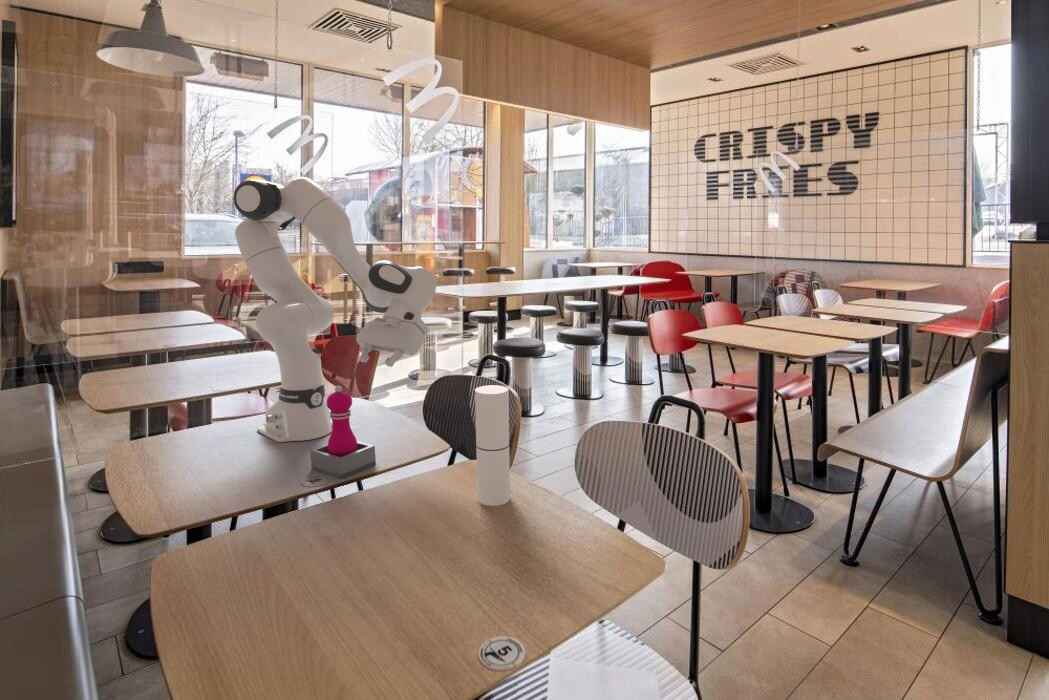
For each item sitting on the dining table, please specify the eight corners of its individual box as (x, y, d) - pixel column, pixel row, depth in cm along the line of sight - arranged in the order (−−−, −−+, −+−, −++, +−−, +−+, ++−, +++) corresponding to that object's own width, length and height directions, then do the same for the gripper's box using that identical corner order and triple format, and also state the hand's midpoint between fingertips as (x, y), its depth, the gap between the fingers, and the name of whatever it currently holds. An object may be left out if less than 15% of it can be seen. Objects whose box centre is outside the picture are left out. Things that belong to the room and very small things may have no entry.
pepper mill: (362, 458, 162) (358, 382, 158) (352, 469, 155) (347, 389, 151) (335, 457, 163) (330, 381, 159) (323, 468, 156) (317, 389, 152)
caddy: (311, 469, 158) (310, 450, 157) (346, 455, 167) (345, 437, 166) (341, 479, 152) (340, 459, 151) (375, 464, 161) (374, 445, 160)
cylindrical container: (474, 504, 138) (471, 393, 133) (481, 491, 145) (479, 384, 140) (506, 507, 137) (504, 394, 132) (512, 493, 144) (511, 385, 138)
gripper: (366, 310, 174) (340, 351, 168) (422, 316, 162) (396, 360, 157) (379, 324, 178) (354, 365, 172) (434, 330, 167) (409, 374, 161)
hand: (375, 363), depth 164 cm, fingers open, 8 cm apart
